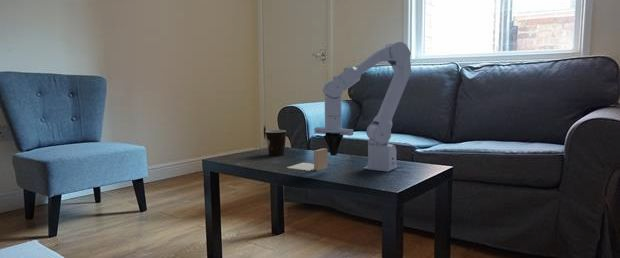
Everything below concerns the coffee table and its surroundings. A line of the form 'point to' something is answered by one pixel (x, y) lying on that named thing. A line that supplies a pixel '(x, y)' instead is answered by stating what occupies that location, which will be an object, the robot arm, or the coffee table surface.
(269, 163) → the coffee table surface
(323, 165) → the tile
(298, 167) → the felt mat
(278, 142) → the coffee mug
